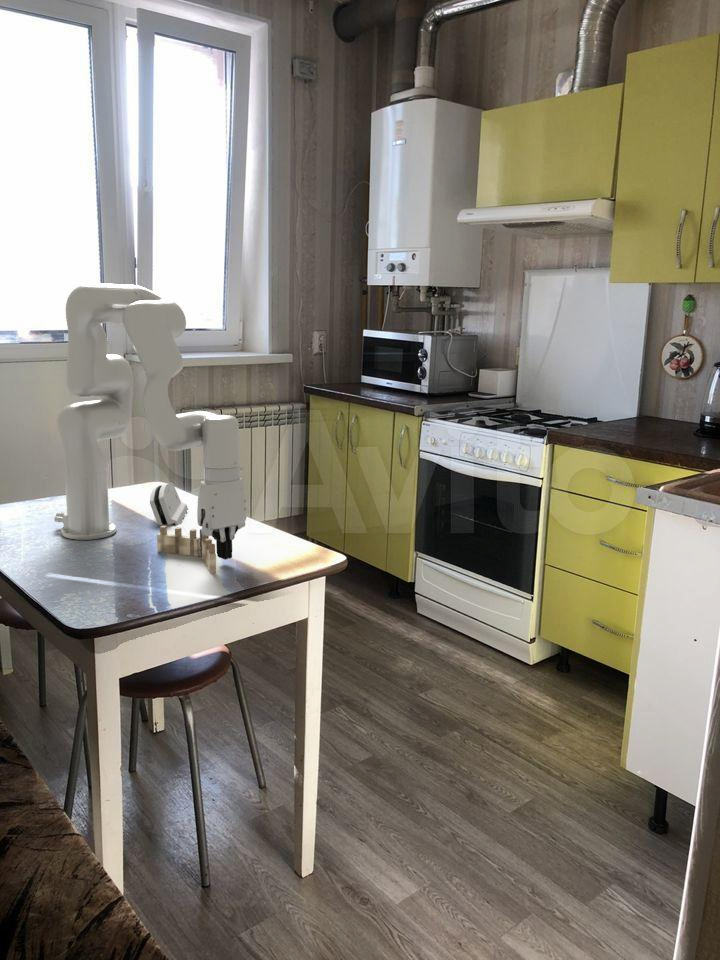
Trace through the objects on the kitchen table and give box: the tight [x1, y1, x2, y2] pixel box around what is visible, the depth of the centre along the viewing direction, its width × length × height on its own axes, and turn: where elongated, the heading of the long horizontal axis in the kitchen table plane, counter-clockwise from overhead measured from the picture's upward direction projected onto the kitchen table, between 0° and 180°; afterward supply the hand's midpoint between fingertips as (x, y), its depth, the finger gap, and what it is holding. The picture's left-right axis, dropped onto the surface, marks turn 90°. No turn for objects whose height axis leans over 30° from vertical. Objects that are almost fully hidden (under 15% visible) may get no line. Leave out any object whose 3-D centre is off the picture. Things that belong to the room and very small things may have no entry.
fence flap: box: [201, 535, 217, 574], centre depth 170 cm, size 10×1×6 cm, turn 21°
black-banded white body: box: [149, 482, 189, 526], centre depth 205 cm, size 17×5×10 cm, turn 4°
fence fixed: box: [156, 525, 202, 558], centre depth 177 cm, size 12×2×6 cm, turn 75°
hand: (224, 557), depth 171 cm, fingers closed
